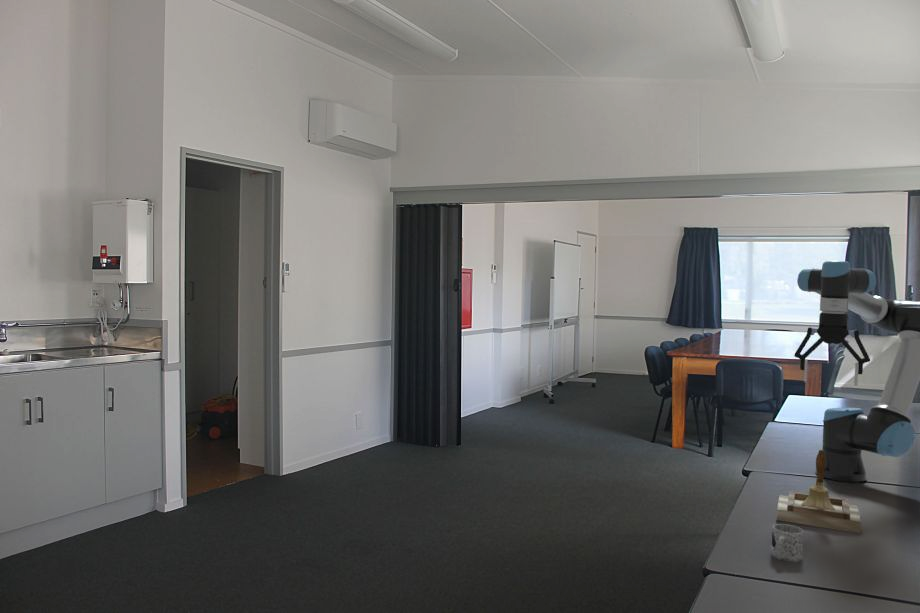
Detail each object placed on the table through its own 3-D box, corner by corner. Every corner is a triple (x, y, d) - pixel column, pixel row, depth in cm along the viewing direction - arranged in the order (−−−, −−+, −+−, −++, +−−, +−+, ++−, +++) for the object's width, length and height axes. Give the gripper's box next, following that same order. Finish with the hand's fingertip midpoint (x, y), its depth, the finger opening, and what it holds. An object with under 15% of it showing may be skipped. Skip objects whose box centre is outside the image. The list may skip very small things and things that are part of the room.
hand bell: (832, 505, 204) (835, 448, 203) (837, 514, 196) (840, 455, 196) (799, 501, 207) (802, 445, 206) (803, 510, 199) (806, 451, 198)
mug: (776, 548, 178) (777, 521, 178) (805, 556, 174) (806, 528, 173) (763, 560, 170) (764, 532, 170) (793, 568, 166) (794, 539, 166)
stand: (779, 505, 213) (779, 489, 213) (857, 516, 204) (858, 500, 204) (776, 520, 199) (777, 503, 199) (860, 533, 191) (861, 516, 190)
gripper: (787, 311, 222) (784, 381, 222) (882, 315, 211) (878, 388, 212) (788, 310, 228) (785, 378, 229) (880, 314, 217) (876, 385, 218)
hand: (830, 383), depth 220 cm, fingers open, 13 cm apart
